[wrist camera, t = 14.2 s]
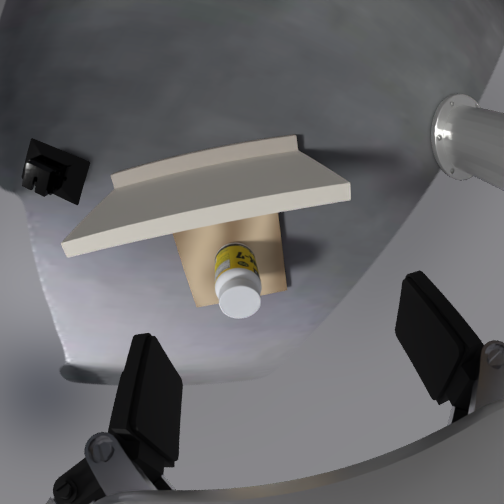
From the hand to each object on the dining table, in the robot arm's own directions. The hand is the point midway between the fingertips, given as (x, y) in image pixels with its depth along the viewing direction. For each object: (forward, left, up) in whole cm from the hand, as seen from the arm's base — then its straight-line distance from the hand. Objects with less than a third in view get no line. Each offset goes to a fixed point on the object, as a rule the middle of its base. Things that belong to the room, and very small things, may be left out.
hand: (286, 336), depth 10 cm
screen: (+3, -1, -23) cm, 24 cm away
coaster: (+2, +10, -23) cm, 25 cm away
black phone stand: (+21, -6, -24) cm, 33 cm away
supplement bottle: (+2, +10, -23) cm, 25 cm away
